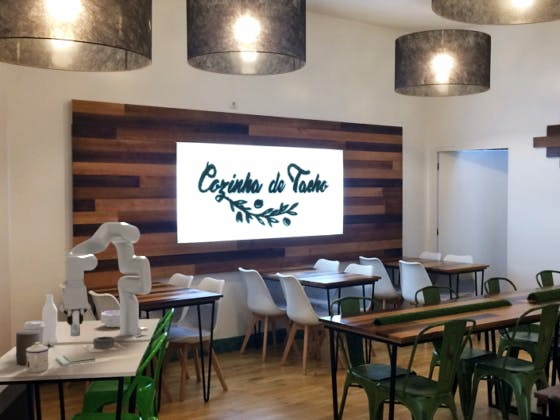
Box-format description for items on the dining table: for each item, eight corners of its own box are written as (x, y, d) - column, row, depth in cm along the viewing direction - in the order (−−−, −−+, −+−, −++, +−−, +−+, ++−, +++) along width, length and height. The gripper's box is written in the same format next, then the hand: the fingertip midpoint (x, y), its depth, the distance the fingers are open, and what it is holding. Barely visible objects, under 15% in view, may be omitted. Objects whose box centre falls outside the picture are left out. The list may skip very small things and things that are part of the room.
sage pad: (87, 355, 298) (87, 352, 298) (95, 361, 286) (95, 359, 286) (56, 359, 291) (56, 356, 291) (63, 365, 279) (63, 363, 279)
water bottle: (52, 347, 314) (52, 296, 314) (39, 346, 316) (38, 295, 315) (60, 343, 321) (59, 293, 321) (47, 343, 323) (46, 293, 322)
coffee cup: (23, 353, 302) (22, 321, 302) (44, 351, 306) (44, 319, 306) (23, 357, 293) (23, 325, 293) (46, 355, 297) (45, 323, 297)
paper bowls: (118, 329, 355) (118, 315, 355) (95, 327, 361) (95, 313, 361) (134, 324, 369) (134, 310, 369) (111, 322, 375) (111, 309, 375)
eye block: (115, 344, 319) (115, 333, 319) (125, 351, 305) (125, 339, 305) (82, 348, 311) (82, 337, 311) (91, 355, 297) (90, 343, 297)
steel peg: (81, 335, 287) (81, 306, 287) (71, 336, 285) (71, 307, 285) (79, 334, 291) (78, 305, 291) (69, 335, 289) (69, 306, 289)
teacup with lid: (27, 367, 276) (27, 340, 276) (49, 366, 279) (49, 339, 278) (23, 375, 265) (23, 347, 264) (47, 373, 267) (47, 345, 267)
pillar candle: (16, 366, 279) (16, 331, 278) (15, 361, 288) (15, 327, 287) (40, 364, 282) (40, 330, 282) (39, 359, 291) (39, 326, 291)
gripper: (57, 285, 280) (57, 327, 281) (96, 283, 289) (96, 323, 289) (53, 283, 287) (54, 324, 287) (91, 281, 295) (92, 321, 296)
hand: (75, 323), depth 288 cm, fingers closed on steel peg, 4 cm apart
